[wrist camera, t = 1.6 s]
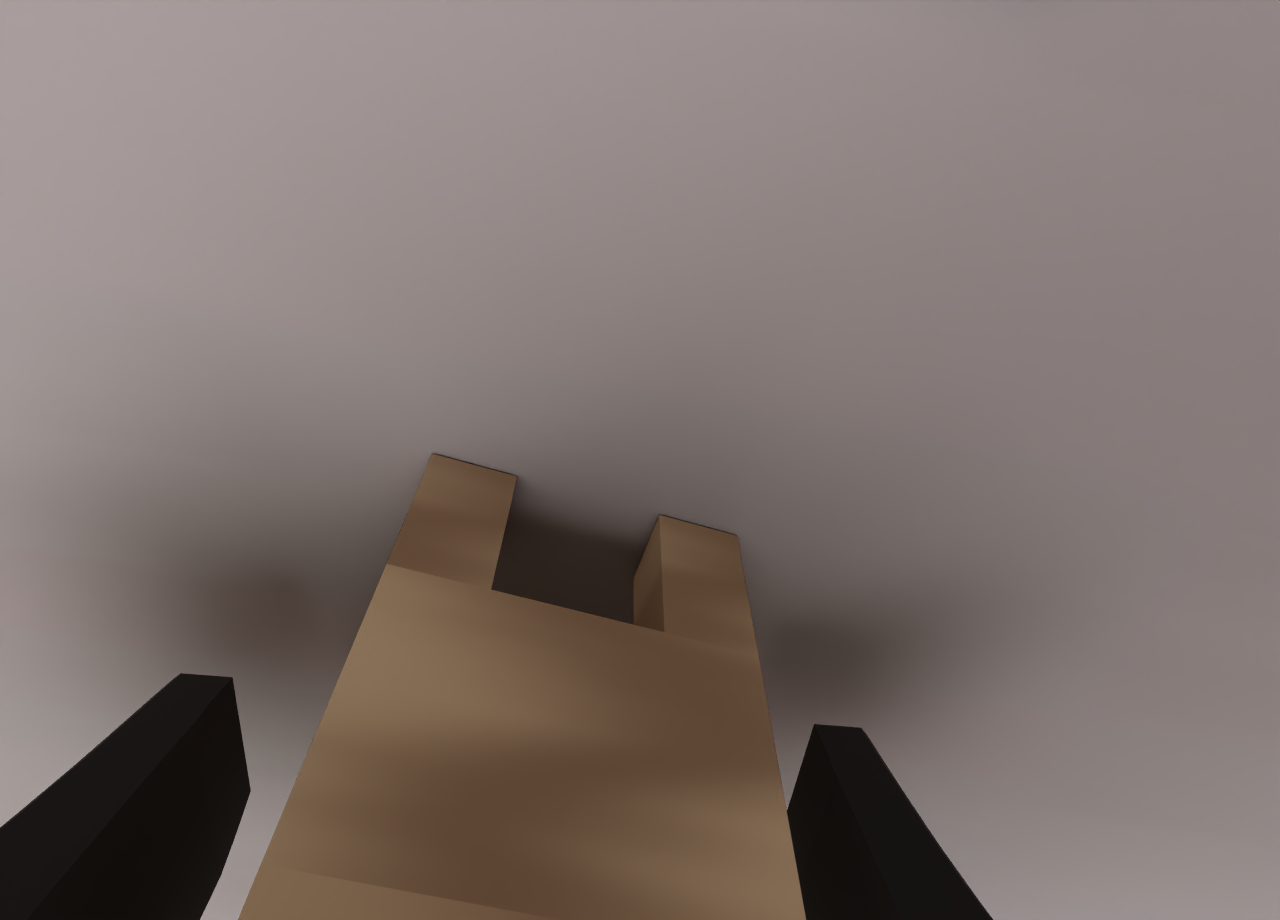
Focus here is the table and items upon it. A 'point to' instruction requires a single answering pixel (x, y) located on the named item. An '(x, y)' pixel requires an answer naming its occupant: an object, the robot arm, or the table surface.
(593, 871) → the notched wooden block
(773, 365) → the table surface
